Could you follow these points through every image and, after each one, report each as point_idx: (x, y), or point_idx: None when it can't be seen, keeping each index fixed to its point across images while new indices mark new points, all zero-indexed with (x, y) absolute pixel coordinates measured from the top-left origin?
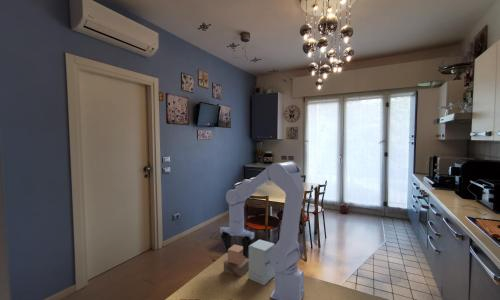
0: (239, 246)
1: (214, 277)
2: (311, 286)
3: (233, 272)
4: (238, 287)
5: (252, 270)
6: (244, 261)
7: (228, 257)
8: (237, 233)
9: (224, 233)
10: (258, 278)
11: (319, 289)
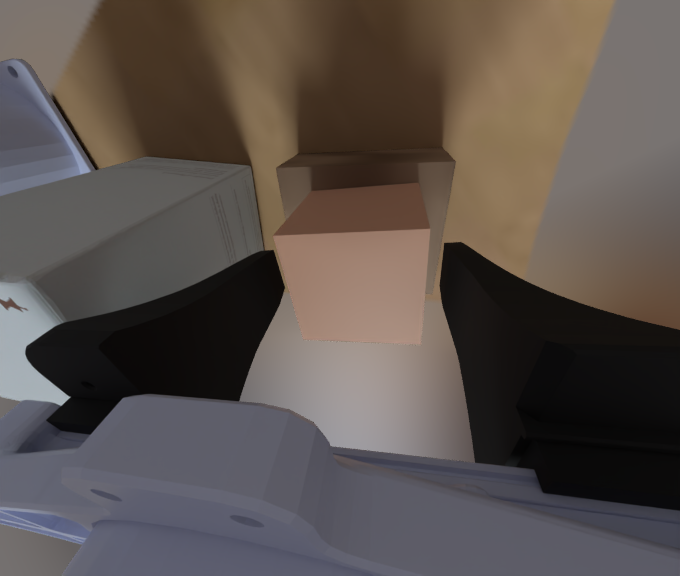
0: (350, 330)
1: (476, 9)
2: None
3: (353, 153)
4: (226, 23)
5: (183, 176)
6: None
7: (413, 196)
8: (85, 506)
9: (641, 467)
10: (163, 163)
11: None
